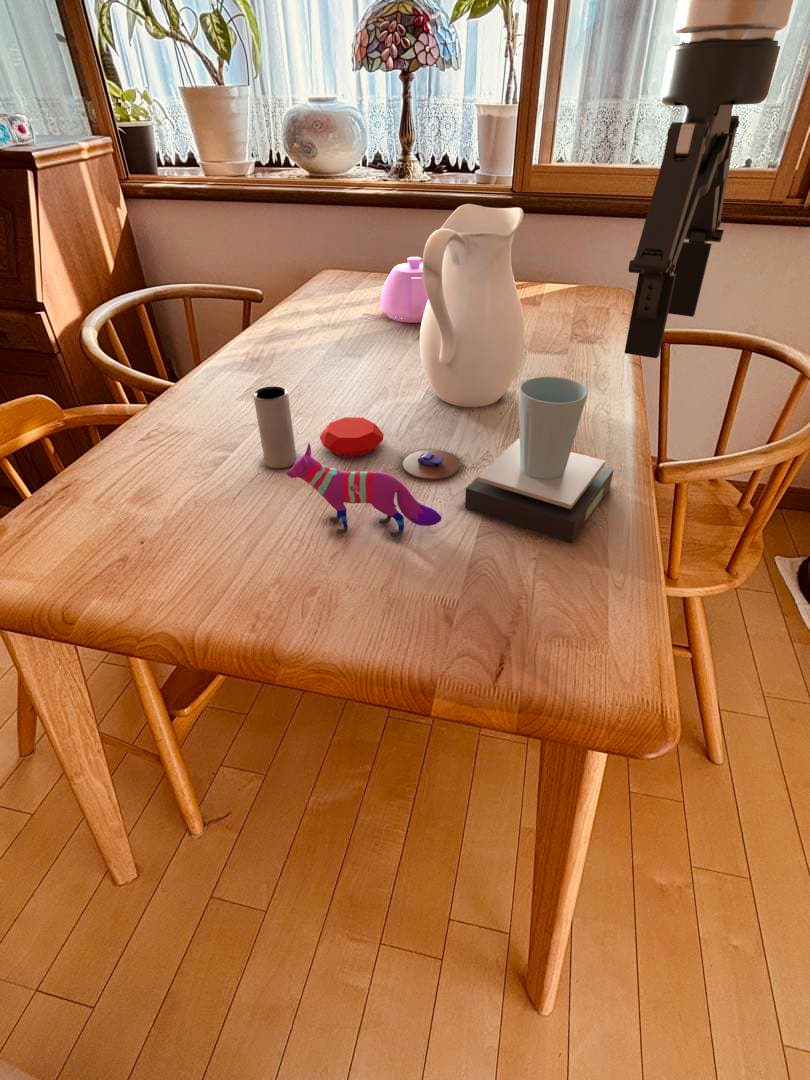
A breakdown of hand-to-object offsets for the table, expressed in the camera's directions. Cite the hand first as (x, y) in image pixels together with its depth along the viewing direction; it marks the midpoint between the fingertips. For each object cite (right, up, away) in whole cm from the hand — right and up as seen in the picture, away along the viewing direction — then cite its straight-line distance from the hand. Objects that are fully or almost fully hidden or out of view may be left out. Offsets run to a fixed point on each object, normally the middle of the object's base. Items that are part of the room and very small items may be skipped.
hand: (661, 333), depth 58 cm
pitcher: (-15, +4, +47) cm, 49 cm away
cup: (-7, -10, +20) cm, 23 cm away
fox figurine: (-28, -18, +18) cm, 38 cm away
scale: (-7, -14, +22) cm, 27 cm away
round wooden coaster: (-20, -9, +29) cm, 37 cm away
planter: (-41, -8, +31) cm, 52 cm away
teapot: (-22, +33, +86) cm, 94 cm away
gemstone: (-32, -5, +34) cm, 47 cm away
